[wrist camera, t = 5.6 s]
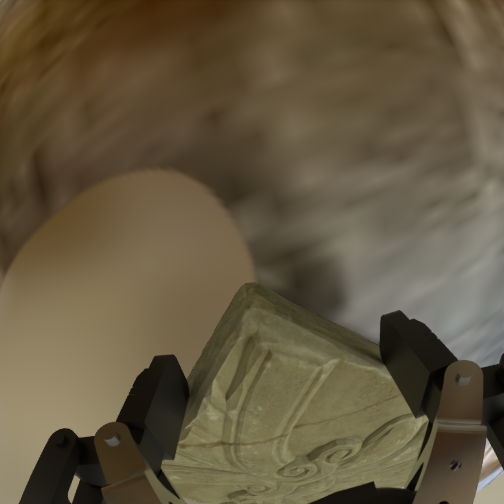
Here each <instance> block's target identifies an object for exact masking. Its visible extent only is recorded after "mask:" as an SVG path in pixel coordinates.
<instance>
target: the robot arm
mask: <svg viewBox="0 0 504 504" xmlns="http://www.w3.org/2000/svg"><path fill="white" fill-rule="evenodd" d="M379 350H380V356H381V359H382V361H383V363H384V365H385V366H386V368H387V370H388V371H389V373H390V375H391V376H392V378H393V380H394V382H395V383H396V385H397V387H398V388H399V390H400V392H401V394H402V395H403V397H404V399H405V401H406V403H407V404H408V406H409V408H410V410H411V411H412V413H413V415H414V417H415V419H418V418H420V417H422V416H424V415H426V416H427V418H428V422H427V425H426V429H425V433H424V436H423V439H422V443H421V446H420V449H419V452H418V455H417V458H416V461H415V464H414V466H413V468H412V471H411V473H410V475H409V477H408V479H407V481H406V483H405V486H404V488H403V489H402V488H393V487H382V488H376V486H375V483H374V481H372V482H369V483H366V484H362V485H359V486H356V487H352V488H349V489H345V490H341V491H337V492H334V493H332V494H330V495H328V496H325V497H323V498H321V499H318V500H316V501H313V502H311V503H308V504H473V501H474V498H475V494H476V490H477V486H478V482H479V478H480V473H481V469H482V463H483V458H484V452H485V445H486V437H487V439H488V441H489V442H490V444H491V446H492V448H493V450H494V452H495V454H496V456H497V458H498V459H499V461H500V464H501V466H502V468H503V470H504V353H503V355H502V356H501V359H500V362H499V364H496V365H492V366H488V367H483V368H480V367H479V366H478V365H477V364H476V363H474V362H472V361H468V360H460V361H459V360H458V359H457V358H456V357H455V356H454V355H453V354H452V353H451V352H450V350H449V349H448V348H447V347H446V346H445V345H444V344H443V343H442V342H441V341H440V340H439V339H437V336H436V335H435V334H434V333H432V331H431V330H430V329H429V328H428V327H427V326H426V325H425V324H424V323H422V322H420V321H418V320H416V319H411V320H409V319H408V318H407V317H406V315H405V314H404V313H403V312H402V311H400V310H398V311H395V312H392V313H389V314H385V315H382V316H381V321H380V344H379ZM189 395H190V391H189V385H188V382H187V380H186V378H185V376H184V373H183V371H182V369H181V367H180V365H179V363H178V361H177V358H176V357H175V355H161V356H155V357H154V358H153V360H152V362H151V364H150V367H149V368H148V369H144V371H143V372H141V374H139V375H138V377H137V378H136V380H135V382H134V384H133V388H131V390H130V392H129V395H128V396H127V399H126V401H125V403H124V405H123V407H122V409H121V411H120V413H119V415H118V418H117V420H116V422H111V423H108V424H105V425H103V426H102V427H101V428H100V429H99V430H98V431H97V432H96V434H95V436H90V437H82V438H79V437H78V436H77V435H76V434H75V433H74V432H73V431H72V430H70V429H68V428H67V429H66V428H63V429H59V430H58V431H56V432H54V433H53V434H52V435H51V436H50V438H49V440H48V442H47V444H46V446H45V447H44V449H43V452H42V454H41V455H40V458H39V460H38V462H37V464H36V466H35V468H34V470H33V472H32V474H31V476H30V479H29V481H28V483H27V485H26V488H25V490H24V492H23V495H22V497H21V500H20V502H19V504H71V503H70V501H69V500H68V491H69V488H70V485H71V483H72V480H73V477H74V475H76V476H77V477H78V478H79V479H80V482H79V485H78V487H77V490H76V493H75V496H74V499H73V502H72V504H187V503H186V502H185V501H184V499H183V498H182V496H181V495H180V493H179V492H178V491H177V489H176V488H175V486H174V485H173V483H172V481H171V480H170V478H169V477H168V475H167V473H166V472H165V470H164V469H163V467H162V466H161V465H162V461H163V460H174V459H175V454H176V450H177V446H178V441H179V437H180V433H181V429H182V425H183V420H184V416H185V412H186V408H187V404H188V400H189Z"/></svg>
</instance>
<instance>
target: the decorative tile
mask: <svg viewBox="0 0 504 504" xmlns="http://www.w3.org/2000/svg"><path fill="white" fill-rule="evenodd" d="M187 382H188V385H189V391H190V395H189V400H188V404H187V408H186V412H185V416H184V420H183V425H182V429H181V433H180V437H179V441H178V446H177V450H176V454H175V459H174V460H163V461H162V465H161V466H162V467H163V469H164V470H165V472H166V473H167V475H168V477H169V478H170V480H171V481H172V483H173V485H174V486H175V488H176V489H177V491H178V492H179V493H180V495H181V496H182V498H186V499H189V500H193V501H197V502H201V503H206V504H308V503H311V502H313V501H316V500H318V499H321V498H323V497H325V496H328V495H330V494H332V493H334V492H337V491H341V490H345V489H349V488H352V487H356V486H359V485H362V484H366V483H369V482H372V481H374V483H375V486H376V488H382V487H393V488H403V487H404V486H405V483H406V481H407V479H408V477H409V475H410V473H411V471H412V468H413V466H414V464H415V461H416V458H417V455H418V452H419V449H420V446H421V443H422V439H423V436H424V433H425V429H426V425H427V422H428V418H427V416H426V415H424V416H422V417H420V418H418V419H415V417H414V415H413V413H412V411H411V410H410V408H409V406H408V404H407V403H406V401H405V399H404V397H403V395H402V394H401V392H400V390H399V388H398V387H397V385H396V383H395V382H394V380H393V378H392V376H391V375H390V373H389V371H388V370H387V368H386V366H385V365H384V363H383V361H382V359H381V356H380V350H379V346H378V345H376V344H374V343H372V342H370V341H368V340H366V339H364V338H363V337H361V336H359V335H357V334H355V333H353V332H351V331H349V330H347V329H345V328H343V327H340V326H338V325H336V324H333V323H331V322H329V321H327V320H325V319H323V318H321V317H320V316H318V315H316V314H314V313H313V312H311V311H309V310H307V309H305V308H303V307H300V306H298V305H296V304H294V303H292V302H291V301H289V300H287V299H285V298H283V297H282V296H280V295H278V294H276V293H275V292H273V291H271V290H269V289H267V288H265V287H263V286H261V285H259V284H257V283H255V282H253V283H246V284H244V285H243V286H242V287H241V288H240V289H239V291H238V292H237V293H236V295H235V296H234V298H233V300H232V302H231V303H230V305H229V307H228V309H227V310H226V311H225V313H224V315H223V316H222V318H221V320H220V322H219V323H218V325H217V327H216V329H215V331H214V333H213V335H212V337H211V338H210V340H209V341H208V343H207V345H206V346H205V348H204V349H203V352H202V355H201V356H200V358H199V360H198V361H197V362H196V364H195V366H194V368H193V369H192V371H191V373H190V375H189V377H188V379H187Z"/></svg>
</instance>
